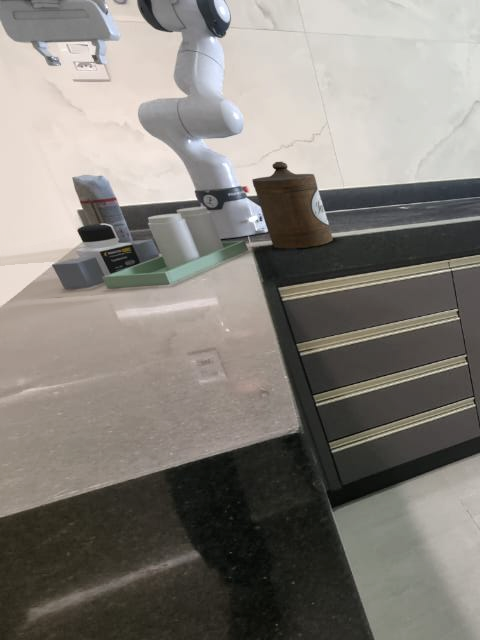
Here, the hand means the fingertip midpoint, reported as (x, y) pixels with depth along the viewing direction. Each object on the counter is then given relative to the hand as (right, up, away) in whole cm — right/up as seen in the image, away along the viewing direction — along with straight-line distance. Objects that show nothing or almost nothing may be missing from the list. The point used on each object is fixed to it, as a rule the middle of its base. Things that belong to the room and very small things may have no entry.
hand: (78, 65), depth 118 cm
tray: (+15, -44, +10) cm, 48 cm away
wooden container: (+31, -33, +32) cm, 55 cm away
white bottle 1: (+15, -44, +10) cm, 47 cm away
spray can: (-34, -31, +44) cm, 64 cm away
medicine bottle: (+2, -46, +7) cm, 47 cm away
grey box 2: (+1, -42, +15) cm, 45 cm away
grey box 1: (+3, -50, -1) cm, 50 cm away
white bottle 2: (+14, -39, +19) cm, 46 cm away
